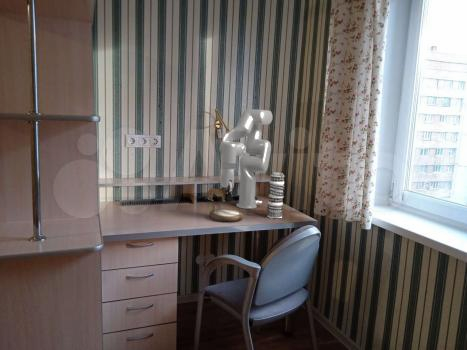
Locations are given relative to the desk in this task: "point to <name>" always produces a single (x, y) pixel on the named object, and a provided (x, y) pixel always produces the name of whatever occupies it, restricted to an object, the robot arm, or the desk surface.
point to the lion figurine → (217, 193)
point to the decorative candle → (275, 195)
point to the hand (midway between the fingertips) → (226, 199)
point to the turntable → (225, 214)
